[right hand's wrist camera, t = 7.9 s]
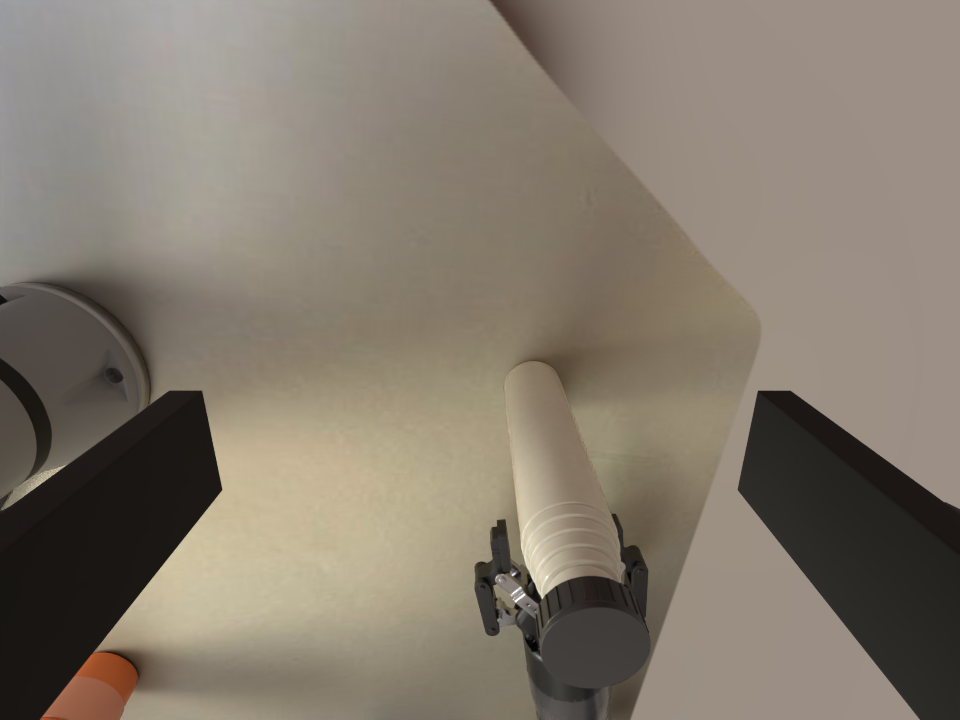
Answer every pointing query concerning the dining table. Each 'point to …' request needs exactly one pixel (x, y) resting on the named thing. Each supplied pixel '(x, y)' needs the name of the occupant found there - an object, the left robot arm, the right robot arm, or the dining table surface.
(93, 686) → the cup with straw
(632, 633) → the cap
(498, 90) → the dining table surface
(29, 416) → the right robot arm
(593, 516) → the bottle
